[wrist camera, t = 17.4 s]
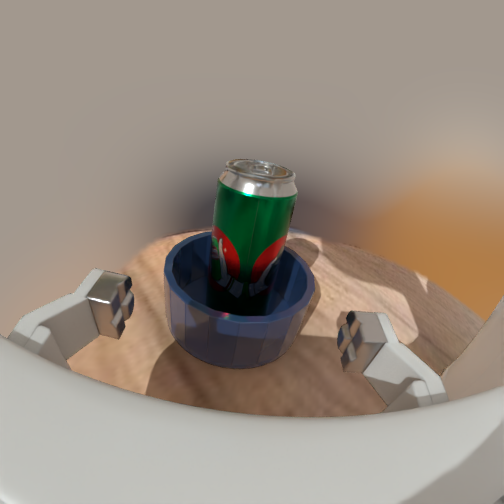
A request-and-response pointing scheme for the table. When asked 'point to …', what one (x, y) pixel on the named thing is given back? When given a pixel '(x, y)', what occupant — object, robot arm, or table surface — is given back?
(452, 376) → the bottle
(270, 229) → the soda can
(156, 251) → the table surface
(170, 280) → the bowl
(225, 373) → the table surface
